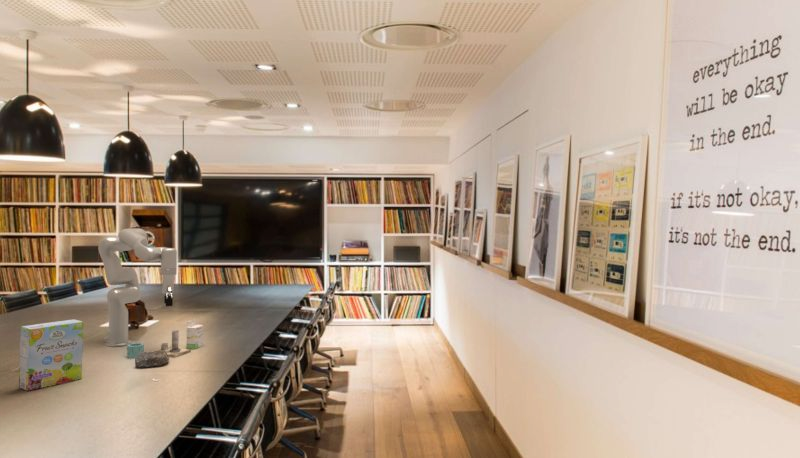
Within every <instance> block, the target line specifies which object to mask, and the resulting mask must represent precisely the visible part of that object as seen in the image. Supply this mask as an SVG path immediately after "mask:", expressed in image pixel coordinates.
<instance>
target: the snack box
mask: <svg viewBox="0 0 800 458" xmlns="http://www.w3.org/2000/svg"><path fill="white" fill-rule="evenodd" d="M83 341H84V321H82V320H79V319H78V320H77V319H75V318H74V319H67V320H61V321H60V320H59V321H52V322H43V323H36V324H29V325H22V326H20V342H19V370H18V376H19V377H18V388H20V389H22V390H25V392H29V391H30V390H31V391H35V390H39V388H40V389H44V388H47V386H49V387H52V385H53V386H57V385H61V384H60V383H62V384H65V383H64V382H66V383H69V382H68V381H71V382H74V381H73V380H75V381H79V380H82V378H83V351H84V350H83V347H84V346H83V344H84V343H83ZM78 379H79V380H78ZM56 384H57V385H56ZM43 387H44V388H43ZM34 389H35V390H34ZM31 391H30V392H31Z"/></svg>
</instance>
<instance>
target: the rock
mask: <svg viewBox="0 0 800 458" xmlns="http://www.w3.org/2000/svg"><path fill="white" fill-rule="evenodd" d="M153 351H154V352H152V351H149V352H148V351H144V352H141V353H139V354H138V356H137V357H136V358H135V361H134V366H136V367H138V368H141V369H143V368H152V367H156V366H157V367H158V366H163V365H164V364H165V365H166V364H167V363H168V362H169V360H170V357H169V356H168V355H167V353H166V351H165V350H159V351H155V350H153Z"/></svg>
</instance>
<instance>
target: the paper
mask: <svg viewBox="0 0 800 458" xmlns="http://www.w3.org/2000/svg"><path fill="white" fill-rule="evenodd" d="M161 378H162V377H159V379H158V378H154V377H153V378H152V380H154V381H153V382H159V381H161V380H160V379H161Z"/></svg>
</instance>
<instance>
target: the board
mask: <svg viewBox="0 0 800 458" xmlns="http://www.w3.org/2000/svg"><path fill="white" fill-rule="evenodd" d="M179 331H180V330H178V329H175V330H172V331H171V347H169V343H168V342H164V343H161V345H160V347H161V348H158V349H156V350H152V351H151V352H154V351H159V350H165V351H166V353H167V355H168V356H169V358H179V357H181V356H184V355H186V354H188V353H191V351H192V349H186V348H179V339H180V338H179V337H180V336H179V335H180V334H179Z"/></svg>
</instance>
